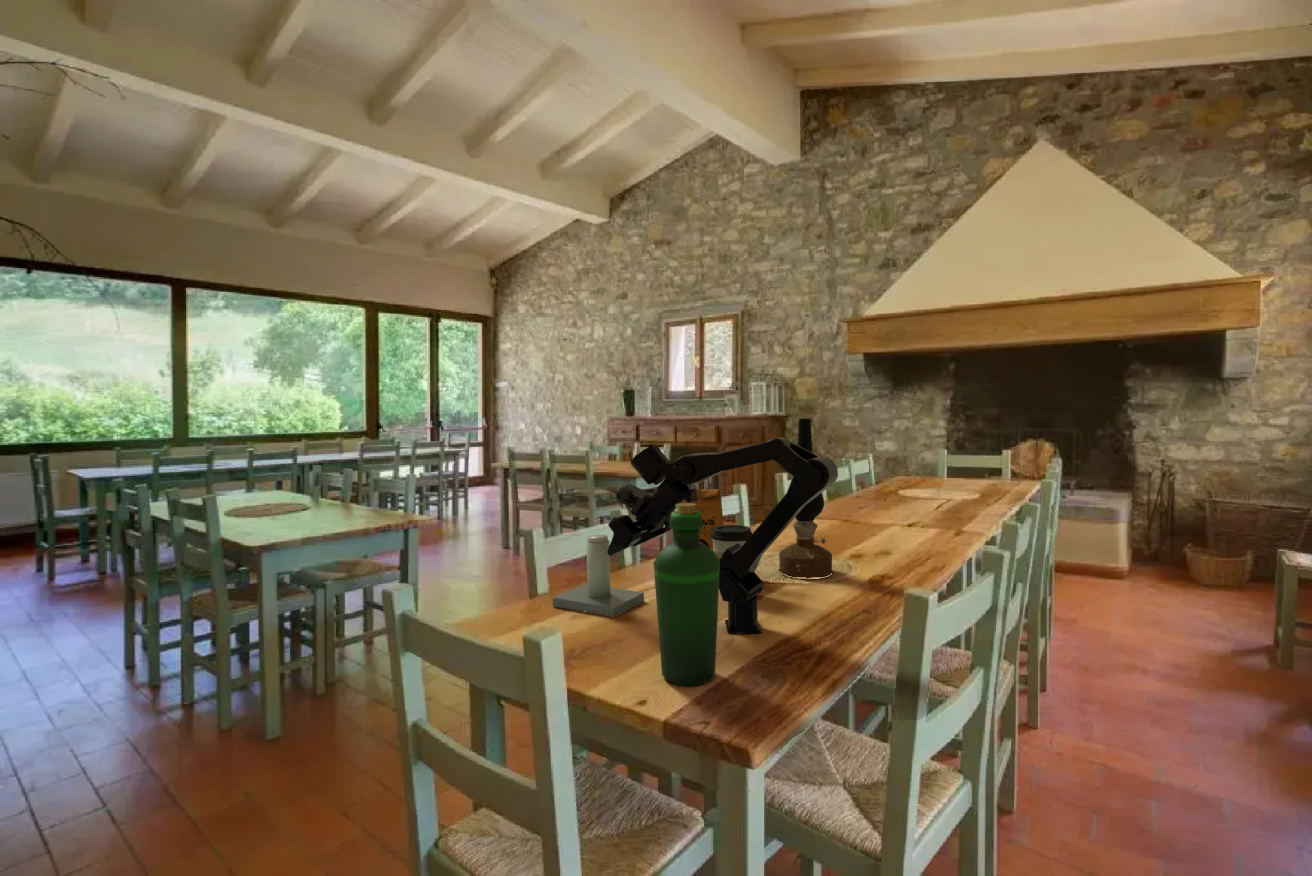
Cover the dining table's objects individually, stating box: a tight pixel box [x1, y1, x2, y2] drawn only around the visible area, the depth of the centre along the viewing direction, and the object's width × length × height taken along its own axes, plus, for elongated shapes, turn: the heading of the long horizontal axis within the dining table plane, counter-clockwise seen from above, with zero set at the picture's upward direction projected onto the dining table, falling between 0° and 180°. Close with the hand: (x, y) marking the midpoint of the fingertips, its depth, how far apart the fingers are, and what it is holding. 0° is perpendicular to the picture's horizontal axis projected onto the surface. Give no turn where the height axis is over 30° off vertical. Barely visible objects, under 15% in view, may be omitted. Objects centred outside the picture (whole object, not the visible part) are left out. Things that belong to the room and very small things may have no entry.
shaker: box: [585, 534, 611, 599], centre depth 144 cm, size 5×5×13 cm
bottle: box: [653, 503, 720, 687], centre depth 105 cm, size 11×11×28 cm
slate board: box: [552, 583, 645, 618], centre depth 144 cm, size 16×12×2 cm
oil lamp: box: [777, 418, 834, 578], centre depth 163 cm, size 14×15×40 cm
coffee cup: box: [710, 524, 754, 596], centre depth 150 cm, size 10×10×15 cm
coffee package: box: [681, 488, 725, 550], centre depth 167 cm, size 10×12×22 cm
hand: (620, 549), depth 141 cm, fingers open, 9 cm apart
